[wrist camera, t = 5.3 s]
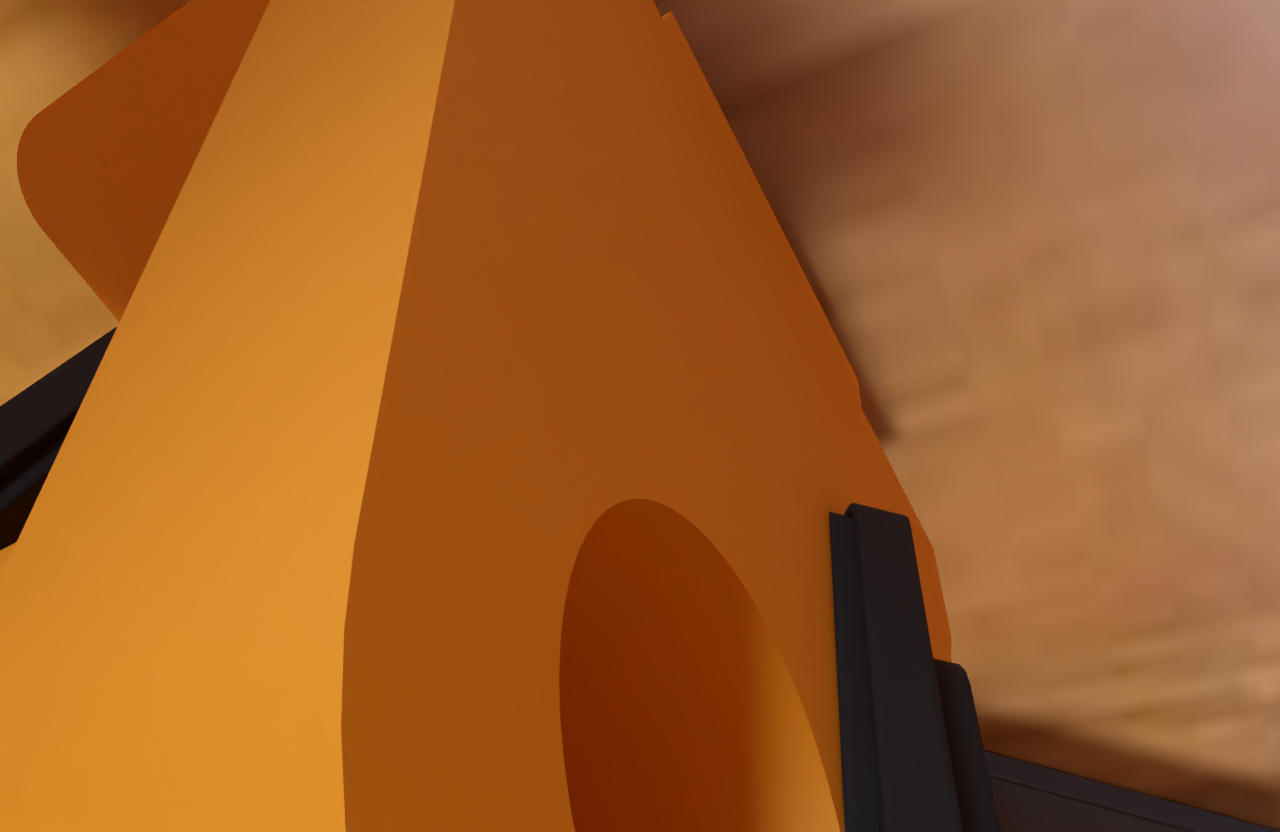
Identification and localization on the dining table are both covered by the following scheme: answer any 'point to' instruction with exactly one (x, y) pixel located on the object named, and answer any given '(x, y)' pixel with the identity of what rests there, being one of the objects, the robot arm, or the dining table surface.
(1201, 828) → the tray
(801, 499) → the bracket
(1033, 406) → the dining table surface
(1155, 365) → the dining table surface
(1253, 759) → the dining table surface
